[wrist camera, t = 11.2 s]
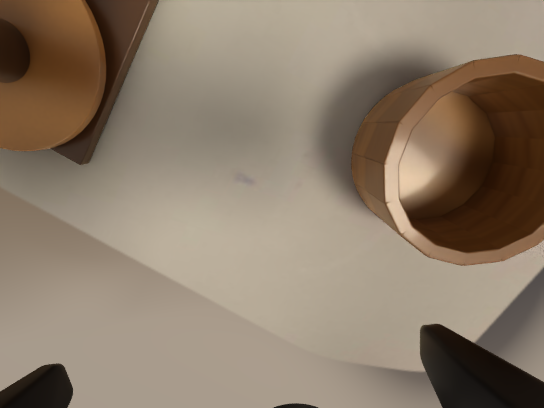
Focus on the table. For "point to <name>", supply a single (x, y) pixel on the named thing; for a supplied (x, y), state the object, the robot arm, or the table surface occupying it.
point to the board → (111, 64)
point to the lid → (48, 72)
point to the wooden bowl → (459, 160)
